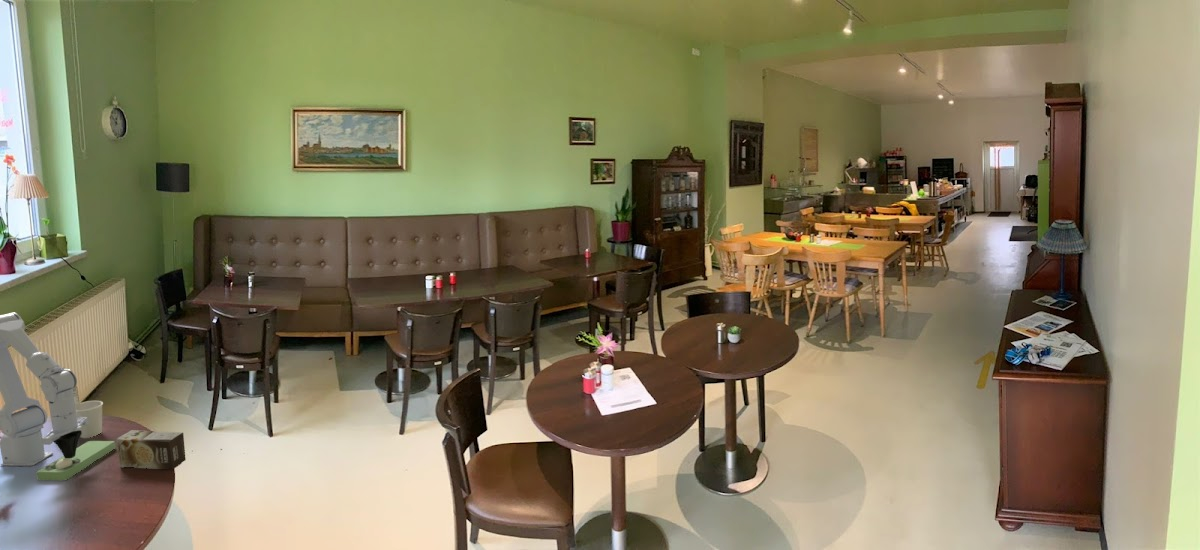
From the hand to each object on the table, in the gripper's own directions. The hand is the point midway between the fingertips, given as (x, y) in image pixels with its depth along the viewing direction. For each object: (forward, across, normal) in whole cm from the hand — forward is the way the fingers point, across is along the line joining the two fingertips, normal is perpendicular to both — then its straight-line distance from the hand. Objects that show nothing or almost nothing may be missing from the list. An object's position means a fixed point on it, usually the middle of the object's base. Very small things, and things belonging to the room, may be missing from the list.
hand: (70, 457), depth 198 cm
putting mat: (+3, +3, 0) cm, 4 cm away
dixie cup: (+4, +23, +11) cm, 25 cm away
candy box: (+4, +27, +20) cm, 34 cm away
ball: (+1, -2, 0) cm, 3 cm away
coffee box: (-1, +4, -14) cm, 14 cm away
